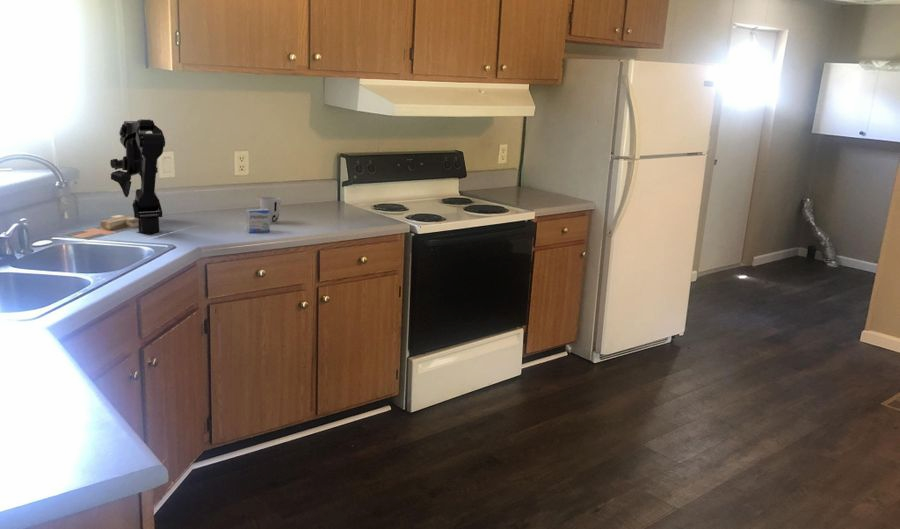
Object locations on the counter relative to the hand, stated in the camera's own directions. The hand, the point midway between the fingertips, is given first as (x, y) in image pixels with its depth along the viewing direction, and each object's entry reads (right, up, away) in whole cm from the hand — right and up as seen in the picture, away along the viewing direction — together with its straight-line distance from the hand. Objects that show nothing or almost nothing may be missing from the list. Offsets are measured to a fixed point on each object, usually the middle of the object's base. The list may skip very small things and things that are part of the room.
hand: (135, 194), depth 275 cm
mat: (-5, -15, -14) cm, 21 cm away
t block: (-3, -13, -8) cm, 16 cm away
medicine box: (+47, -15, 0) cm, 49 cm away
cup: (+47, -10, +17) cm, 51 cm away
